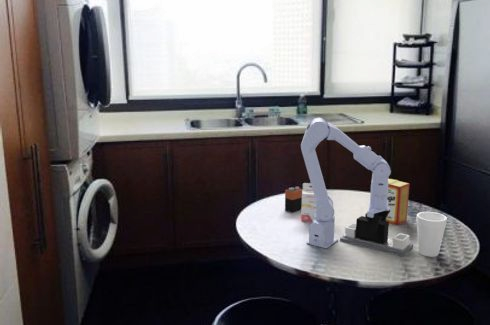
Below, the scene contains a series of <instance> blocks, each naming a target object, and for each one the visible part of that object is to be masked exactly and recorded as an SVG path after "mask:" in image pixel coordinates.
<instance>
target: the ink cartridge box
mask: <svg viewBox="0 0 490 325" xmlns="http://www.w3.org/2000/svg"><path fill="white" fill-rule="evenodd" d="M302 189H303V190H302V209H301V210H300V214H301V215H300V218H301V219H300V220H301V222H308V223H310V222H312V223H313V221H314V215H315V214H316V205H315V204H316V201H315V196H314V193H313V189H312V185H311V182H309V183H308V182H304V183H302Z"/></svg>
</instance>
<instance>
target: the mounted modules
mask: <svg viewBox="0 0 490 325" xmlns="http://www.w3.org/2000/svg"><path fill="white" fill-rule="evenodd" d="M344 230H345V234H344V235H346V236H350V237H356V222H355V223H354V222H351V223H350V224H348V225H347V226H346V227H345V229H344ZM392 239H393V247H395V248H400V249H404V248H405V247H406V246H407V245H408V244H409V243H410V235H409V234H405V233H398V234H396V235H395V236H394V237H393V238H392Z"/></svg>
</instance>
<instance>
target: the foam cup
mask: <svg viewBox="0 0 490 325" xmlns="http://www.w3.org/2000/svg"><path fill="white" fill-rule="evenodd" d="M415 221H416V228H417V247H418V248H417V249H418V253H419V254H420V255H422V256H425V257H432V258H433V257H437V256H439V254H440V249H441V246H442V243H443V242H442V241H443V237H444V234H445V231H446V230H445V229H446V226H447V223H448V222H447V221H448V218H447V216H446V215H445V214H443V213H439V212H435V211H422V212H418V213H416V219H415Z"/></svg>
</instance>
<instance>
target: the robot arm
mask: <svg viewBox="0 0 490 325" xmlns="http://www.w3.org/2000/svg"><path fill="white" fill-rule="evenodd" d="M325 139H326V140H328V141H335V142H337V143H338V144H340V145H342V146H343V147H344V148H346V149H347V150H348V151H350V152H351V153H352V154H353V160H355V161H356V162H358V163H359V164H360V165H362V166H363V167H365V169H367V170H368V171H371V172H372V173H371V174H372V175H371V181H370V182H371V184H370V197H369V206H368V210H367V212H366V213H365V216H364V217H366V219H367V221H368V223H369V228H370V233H372V234H377V232H378V227H379V223H380V221H381V220H383V221H386V218H387V216H388V214H389V213H390V207H388V204H389V201H387V197H388V179H390V178H389V177H390V175H391V174H392V173H391V172H392V170H391V167H390V165H389V163H388V162H387V160H385V159H384V158H383V157H382V156H381V155H377V154H376V152H374V151H372V148H371V146H369V145H368V146H366V145H364V144H363V145H359V144H357V142H356V141H354V140H353V139H352V138H350V136H348V135H347V134H346V133H344V132H343V131H342V130H341V129H339V127H337V126H336V125H334V124H332V123H331V122H328V121H327V120H325V119H324V118H322V117H314V118H313V119H311V121H310V122H309V123H308V124H307V126H306V128H305V131H304V135H303V137H302V141H301V142H300V143H301V144H300V149H301V154H302V157H303V160H304V164H305V167H306V170H307V171H306V172H307V174H308V178H309V180H310V181H309V183H311V185H312V186H311V187H312V189H313V193H314V196H315V201H316V204H315V205H316V214H315V215H314V221H313V222H312V223H311V224H310V225H309V227H308V231H309V232H308V236H309V237H308V241H306V244H308V245H311V246H315V247H320V248H323V249H327V248H329V247H331V246H332V245H333V244H335V243H336V242H338V241H339V238H338V237H337V238H336V237H335V218H336V217H335V209H334V202H333V199H332V198H331V197H330V196H329V192H328V190H327V188H326V184H325V181H324V176H323V173H322V170H321V166H320V162H319V159H318V155H317V152H316V148H317V146H318V145H319V144H320V143H321V142H322V141H324V140H325Z"/></svg>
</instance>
